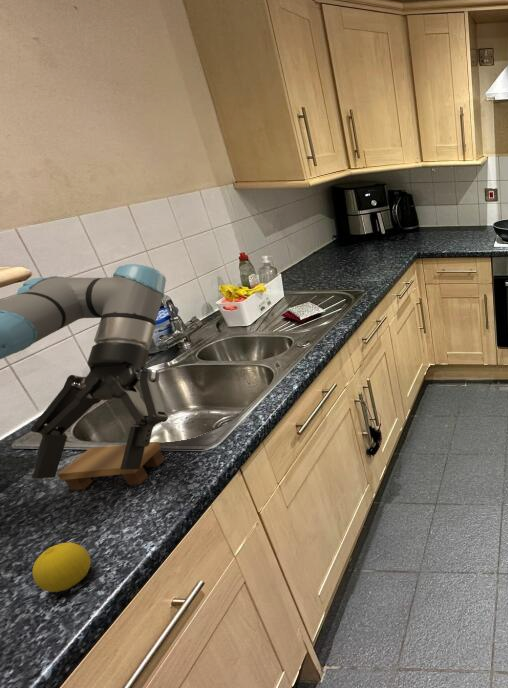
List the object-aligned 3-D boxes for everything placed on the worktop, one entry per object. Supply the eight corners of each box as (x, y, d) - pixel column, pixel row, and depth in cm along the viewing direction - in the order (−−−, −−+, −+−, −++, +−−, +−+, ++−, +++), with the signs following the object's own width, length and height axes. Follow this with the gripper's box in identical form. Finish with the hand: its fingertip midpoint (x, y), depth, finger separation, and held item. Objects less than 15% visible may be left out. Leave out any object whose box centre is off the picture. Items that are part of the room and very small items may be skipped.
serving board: (69, 493, 80) (56, 474, 78) (101, 466, 86) (89, 448, 84) (142, 486, 80) (131, 466, 78) (167, 460, 86) (158, 441, 84)
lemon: (62, 576, 64) (35, 540, 60) (106, 560, 65) (82, 526, 62) (41, 610, 59) (10, 574, 56) (89, 593, 61) (62, 557, 58)
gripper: (207, 346, 77) (183, 465, 69) (72, 358, 76) (33, 480, 68) (176, 333, 70) (146, 465, 62) (28, 347, 69) (-22, 482, 61)
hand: (86, 473), depth 65 cm, fingers open, 13 cm apart
